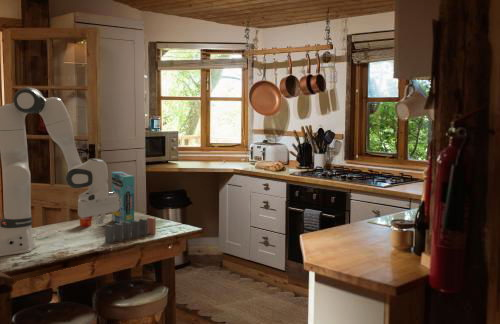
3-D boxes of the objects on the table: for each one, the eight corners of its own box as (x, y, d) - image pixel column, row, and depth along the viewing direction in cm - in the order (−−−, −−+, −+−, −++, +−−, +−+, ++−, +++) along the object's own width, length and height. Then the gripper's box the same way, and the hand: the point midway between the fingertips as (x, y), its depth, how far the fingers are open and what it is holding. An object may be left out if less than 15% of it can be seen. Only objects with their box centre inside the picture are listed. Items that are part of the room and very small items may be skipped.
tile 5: (145, 236, 272) (145, 220, 271) (139, 234, 274) (139, 218, 274) (147, 235, 273) (147, 219, 272) (142, 234, 276) (141, 218, 275)
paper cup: (75, 226, 290) (74, 200, 288) (84, 223, 297) (83, 197, 296) (87, 227, 287) (87, 201, 286) (96, 224, 294) (96, 199, 293)
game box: (111, 220, 306) (110, 171, 303) (122, 219, 310) (121, 171, 307) (123, 227, 289) (122, 176, 286) (134, 226, 292) (134, 175, 289)
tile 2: (119, 241, 260) (119, 225, 259) (114, 240, 263) (114, 223, 262) (122, 241, 262) (122, 224, 261) (117, 239, 264) (116, 223, 263)
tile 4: (136, 237, 268) (136, 221, 267) (131, 236, 271) (131, 220, 270) (139, 237, 269) (139, 221, 268) (133, 235, 272) (133, 219, 271)
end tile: (153, 234, 275) (153, 218, 275) (147, 233, 278) (147, 217, 277) (155, 233, 277) (155, 218, 276) (149, 232, 280) (149, 216, 279)
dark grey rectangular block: (111, 243, 257) (110, 226, 256) (105, 241, 259) (105, 225, 259) (113, 242, 258) (113, 226, 257) (108, 241, 261) (108, 224, 260)
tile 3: (128, 239, 264) (128, 223, 263) (122, 238, 267) (122, 221, 266) (131, 239, 265) (131, 222, 264) (125, 237, 268) (125, 221, 267)
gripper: (113, 190, 261) (114, 218, 263) (75, 196, 246) (76, 226, 248) (121, 191, 257) (122, 220, 259) (83, 198, 242) (84, 228, 243)
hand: (99, 223), depth 253 cm, fingers closed
